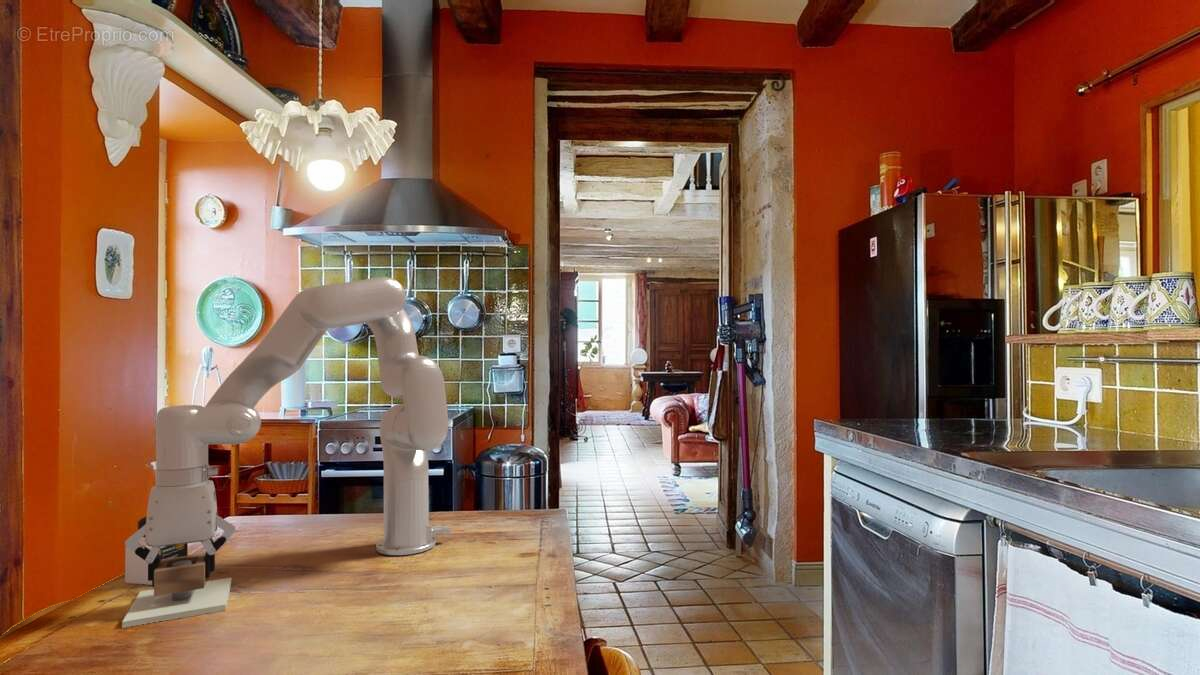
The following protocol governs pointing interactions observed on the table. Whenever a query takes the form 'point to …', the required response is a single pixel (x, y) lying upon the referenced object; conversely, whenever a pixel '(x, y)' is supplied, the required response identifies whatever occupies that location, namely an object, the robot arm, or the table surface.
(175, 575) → the walnut ring
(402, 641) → the table surface
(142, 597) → the post stand
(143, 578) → the medicine bottle
